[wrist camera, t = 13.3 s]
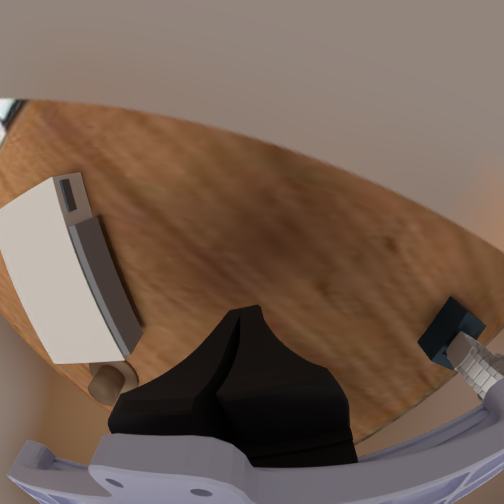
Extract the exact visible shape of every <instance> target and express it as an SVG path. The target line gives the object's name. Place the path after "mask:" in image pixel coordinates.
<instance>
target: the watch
mask: <svg viewBox="0 0 504 504" xmlns="http://www.w3.org/2000/svg"><path fill="white" fill-rule="evenodd" d="M485 327H486V325H485V324H483V323H482V322H481V321H480V320H479V319H478V318H477V317H476V316H475V315H473V314H472V313H471V312H470V311H469V310H468V309H466V308H465V307H464V306H462V305H461V304H460V303H458V302H457V301H456V300H454V299H453V298H452V297H450V298H449V299H448V301H447V302H446V304H445V305H444V307H443V308H442V309H441V311H440V312H439V314H438V315H437V317H436V318H435V319H434V321H433V322H432V324H431V325H430V326H429V328H428V329H427V330H426V332H425V333H424V334H423V336H422V337H421V338H420V339H419V341H418V342H417V343H418V344H419V345H420V346H421V348H422V349H423V351H424V352H425V353H426V355H427V356H428V357H429V359H430V360H431V361H433V362H435V363H437V364H439V365H442V366H444V367H446V368H449V369H451V370H454V369H455V370H457V371H459V373H461V375H462V377H463V378H464V379H465V380H466V381H467V382H468V383H469V385H470V386H471V387H472V386H473V387H472V388H473V389H474V390H475V391H476V392H477V394H478V399H479V401H480V402H481V403H483V400H484V397H485V395H486V393H487V391H488V390H489V388H490V387H491V386H492V385H494V384H495V383H496V382H498V381H499V380H501V379H502V378H504V355H501V354H498V353H496V354H495V356H496V357H495V356H494V355H493V354H492V353H491V352H490V351H489V350H487V349H486V348H485V347H484V346H483V345H482V344H480V343H479V342H478V341H476V340H477V339H478V337H479V336H480V334H481V333H482V332H483V330H484V329H485ZM482 350H483V351H482ZM489 354H490V355H489ZM485 355H486V356H485ZM484 356H485V357H484ZM475 377H476V378H475ZM474 378H475V379H474Z"/></svg>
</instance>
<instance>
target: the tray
mask: <svg viewBox="0 0 504 504" xmlns="http://www.w3.org/2000/svg"><path fill="white" fill-rule="evenodd" d="M69 230H70V233H71V236H72V239H73V242H74V245H75V247H76V250H77V253H78V256H79V258H80V261H81V264H82V266H83V269H84V271H85V274H86V276H87V279H88V281H89V283H90V286H91V288H92V290H93V293H94V295H95V297H96V300H97V302H98V304H99V306H100V308H101V310H102V313H103V315H104V317H105V319H106V321H107V323H108V325H109V327H110V329H111V331H112V333H113V335H114V337H115V339H116V341H117V343H118V344H119V346H120V348H121V350H122V352H123V354H124V355H131V354H132V352H133V350H134V348H135V347H136V345H137V343H138V342H139V340H140V338H141V336H142V335H143V332H142V329H141V327H140V325H139V323H138V321H137V319H136V317H135V314H134V312H133V310H132V308H131V305H130V303H129V301H128V299H127V296H126V294H125V292H124V289H123V287H122V284H121V282H120V279H119V277H118V274H117V272H116V269H115V267H114V264H113V261H112V259H111V256H110V253H109V251H108V248H107V245H106V242H105V239H104V236H103V233H102V230H101V227H100V224H99V221H98V218H97V216H94V217H92V218H89V219H87V220H85V221H82V222H80V223H78V224H75V225H73V226H71V227H69Z"/></svg>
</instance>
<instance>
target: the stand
mask: <svg viewBox="0 0 504 504" xmlns="http://www.w3.org/2000/svg"><path fill="white" fill-rule="evenodd" d="M89 368H90V371H91V374H92V375H93V377H94V378H93V380H92V381H91V383H90V384H89V386H88V391H89V393H90V395H91V396H92V397H93V398H94V399H95V400H97V401H98V402H100V403H102V404H104V405H113V404H114V403H115V402H116V400H117V398H118V396H119V394H122V393H125V392H127V391H130V390H132V389H135V388H137V386H138V376H137V374H136V372H135V370H134V369H133V367H132V366H131V365H130V364H129V363H128V362H127V361H125V360H123V361H109V362H92V363H89Z"/></svg>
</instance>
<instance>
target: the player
mask: <svg viewBox="0 0 504 504" xmlns="http://www.w3.org/2000/svg"><path fill="white" fill-rule="evenodd" d="M92 217H93V215H92V212H91V208H90V205H89V202H88V198H87V195H86V191H85V187H84V184H83V180H82V176H81V172H79V173H72V174H65V175H59V176H53V177H51V178H49V179H47V180H45V181H44V182H42V183H40V184H39V185H37V186H35V187H34V188H32V189H30V190H29V191H27V192H25V193H24V194H22V195H21V196H19V197H18V198H16V199H14V200H13V201H11V202H10V203H8V204H7V205H6V206H4V207H3V208H1V209H0V249H1V252H2V255H3V258H4V261H5V264H6V267H7V269H8V272H9V274H10V277H11V279H12V282H13V284H14V287H15V289H16V291H17V294H18V296H19V298H20V300H21V303H22V305H23V307H24V309H25V311H26V313H27V315H28V317H29V319H30V321H31V323H32V325H33V327H34V329H35V331H36V333H37V335H38V337H39V338H40V340H41V342H42V344H43V345H44V347H45V349H46V351H47V352H48V354H49V356H50V357H51V359H52V361H53V362H54V364H64V363H92V362H109V361H123V360H125V359H126V358H127V356H128V355H124V354H123V352H122V350H121V348H120V346H119V344H118V343H117V341H116V339H115V337H114V335H113V333H112V331H111V329H110V327H109V325H108V323H107V321H106V319H105V317H104V315H103V313H102V310H101V308H100V306H99V304H98V302H97V300H96V297H95V295H94V293H93V290H92V288H91V286H90V283H89V281H88V279H87V276H86V274H85V271H84V269H83V266H82V264H81V261H80V258H79V256H78V253H77V250H76V247H75V245H74V242H73V239H72V236H71V233H70V230H69V227H71V226H73V225H75V224H78V223H80V222H82V221H85V220H87V219H89V218H92Z"/></svg>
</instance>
